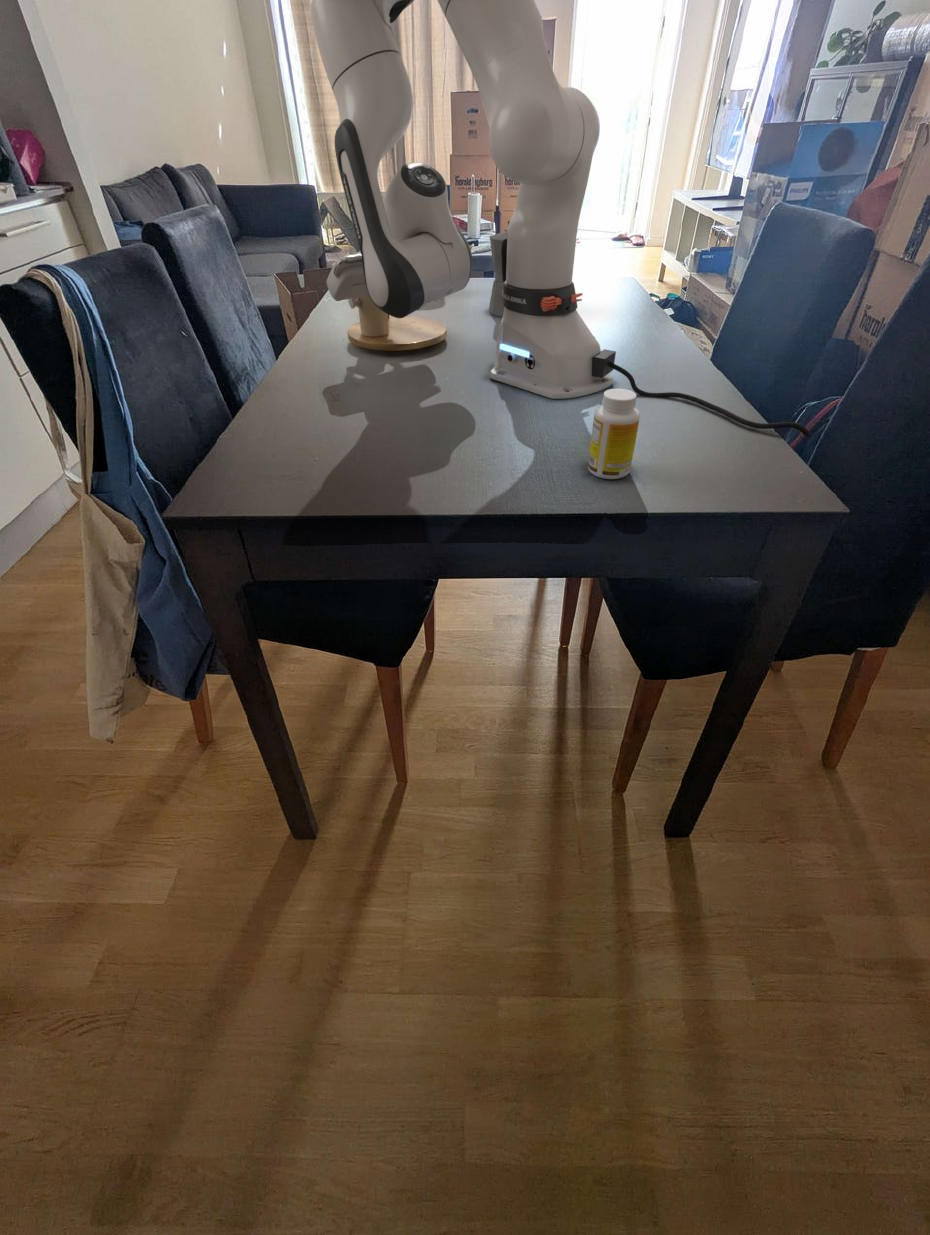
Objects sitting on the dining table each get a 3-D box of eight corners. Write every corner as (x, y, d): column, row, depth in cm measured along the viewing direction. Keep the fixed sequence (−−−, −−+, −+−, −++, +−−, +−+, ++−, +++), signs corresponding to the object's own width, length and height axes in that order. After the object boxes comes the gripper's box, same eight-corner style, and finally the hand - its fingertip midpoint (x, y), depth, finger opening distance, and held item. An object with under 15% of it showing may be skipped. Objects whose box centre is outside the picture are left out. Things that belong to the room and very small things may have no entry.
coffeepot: (493, 304, 147) (495, 215, 135) (532, 306, 145) (537, 216, 134) (481, 321, 136) (482, 226, 124) (523, 323, 134) (528, 227, 122)
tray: (414, 356, 114) (411, 304, 108) (327, 342, 121) (320, 293, 115) (464, 328, 127) (463, 281, 122) (383, 317, 134) (379, 272, 129)
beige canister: (391, 329, 123) (387, 273, 117) (386, 337, 119) (381, 280, 112) (364, 328, 124) (358, 273, 117) (358, 336, 119) (351, 279, 113)
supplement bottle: (637, 470, 81) (652, 393, 74) (614, 485, 78) (628, 406, 71) (602, 457, 84) (613, 382, 77) (578, 471, 81) (588, 394, 74)
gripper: (346, 276, 101) (328, 326, 114) (447, 260, 110) (421, 308, 123) (330, 241, 101) (314, 294, 113) (433, 228, 110) (408, 279, 122)
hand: (370, 301), depth 118 cm, fingers open, 6 cm apart
